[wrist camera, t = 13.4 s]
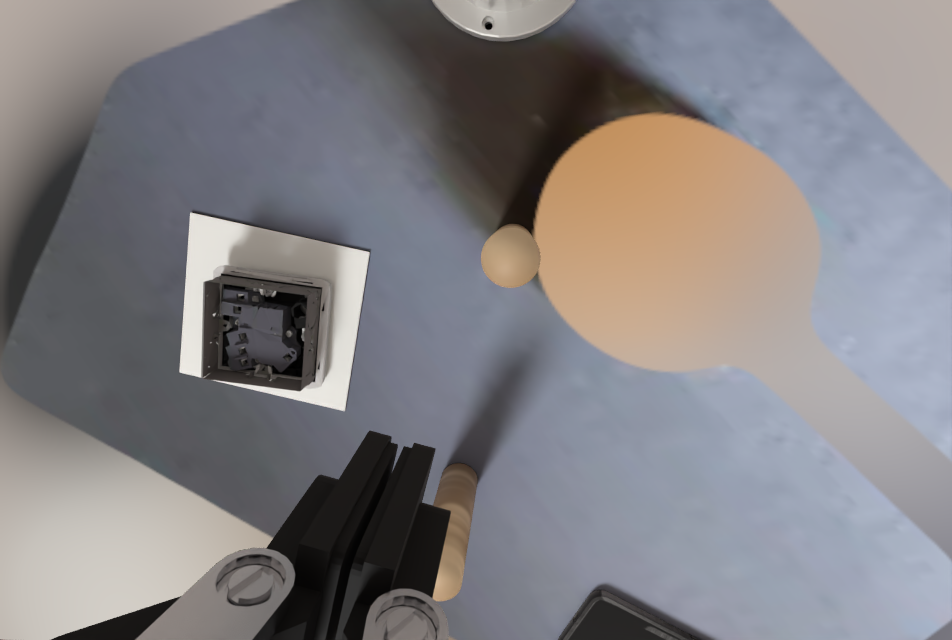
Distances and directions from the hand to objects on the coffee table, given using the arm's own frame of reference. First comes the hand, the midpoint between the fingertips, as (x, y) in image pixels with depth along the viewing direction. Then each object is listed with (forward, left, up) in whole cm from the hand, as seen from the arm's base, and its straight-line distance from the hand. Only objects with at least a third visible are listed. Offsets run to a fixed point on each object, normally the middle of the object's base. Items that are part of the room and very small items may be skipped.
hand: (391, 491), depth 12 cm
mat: (+6, -17, -28) cm, 33 cm away
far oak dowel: (+17, +2, -28) cm, 33 cm away
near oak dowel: (-4, +2, -28) cm, 29 cm away
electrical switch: (+6, -12, -25) cm, 28 cm away
